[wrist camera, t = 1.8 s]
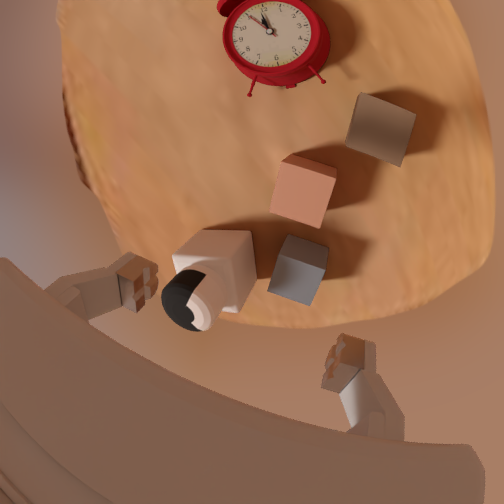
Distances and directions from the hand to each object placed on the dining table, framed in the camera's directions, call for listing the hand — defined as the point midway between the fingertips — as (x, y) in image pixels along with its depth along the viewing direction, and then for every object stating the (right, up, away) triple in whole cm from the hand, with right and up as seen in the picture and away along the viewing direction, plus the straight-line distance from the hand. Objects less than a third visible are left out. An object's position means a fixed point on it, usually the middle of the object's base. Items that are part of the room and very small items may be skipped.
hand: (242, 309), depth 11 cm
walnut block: (+13, +15, +12) cm, 23 cm away
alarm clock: (+3, +25, +10) cm, 27 cm away
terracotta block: (+6, +10, +17) cm, 21 cm away
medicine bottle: (-2, +2, +25) cm, 25 cm away
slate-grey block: (+6, +2, +22) cm, 23 cm away
